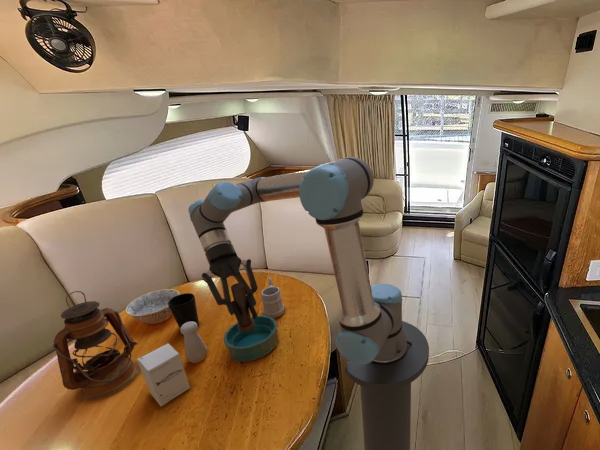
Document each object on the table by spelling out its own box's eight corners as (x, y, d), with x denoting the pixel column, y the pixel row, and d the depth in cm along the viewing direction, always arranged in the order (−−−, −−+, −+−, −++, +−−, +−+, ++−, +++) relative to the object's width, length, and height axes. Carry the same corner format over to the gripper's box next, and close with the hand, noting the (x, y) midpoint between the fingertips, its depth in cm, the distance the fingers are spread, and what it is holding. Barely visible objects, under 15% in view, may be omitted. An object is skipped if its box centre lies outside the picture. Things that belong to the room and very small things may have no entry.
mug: (263, 321, 114) (257, 293, 110) (264, 303, 124) (259, 277, 120) (285, 316, 117) (280, 289, 112) (284, 299, 127) (280, 273, 123)
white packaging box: (160, 408, 82) (146, 371, 77) (150, 394, 86) (135, 358, 81) (191, 388, 87) (179, 353, 83) (179, 376, 91) (167, 341, 87)
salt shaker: (196, 367, 94) (185, 333, 90) (182, 362, 96) (171, 328, 91) (213, 353, 99) (203, 320, 95) (199, 349, 101) (189, 316, 96)
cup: (206, 325, 112) (198, 297, 108) (184, 338, 106) (174, 308, 102) (195, 318, 116) (187, 290, 112) (172, 330, 110) (163, 301, 105)
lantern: (126, 354, 99) (92, 272, 88) (156, 364, 96) (124, 279, 85) (59, 399, 84) (7, 306, 73) (90, 412, 81) (41, 317, 70)
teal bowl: (286, 329, 110) (283, 315, 108) (267, 364, 95) (264, 348, 93) (242, 329, 110) (239, 315, 108) (217, 363, 96) (213, 347, 94)
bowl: (159, 334, 108) (153, 317, 105) (120, 330, 110) (113, 312, 107) (194, 307, 122) (190, 290, 120) (159, 303, 125) (154, 287, 122)
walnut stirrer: (257, 322, 93) (248, 281, 88) (250, 332, 89) (240, 290, 84) (243, 321, 93) (233, 281, 88) (235, 331, 89) (225, 290, 84)
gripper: (246, 245, 100) (274, 311, 95) (187, 262, 90) (215, 337, 85) (248, 235, 95) (279, 304, 89) (186, 251, 84) (216, 331, 79)
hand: (248, 320), depth 87 cm, fingers closed on walnut stirrer, 3 cm apart
